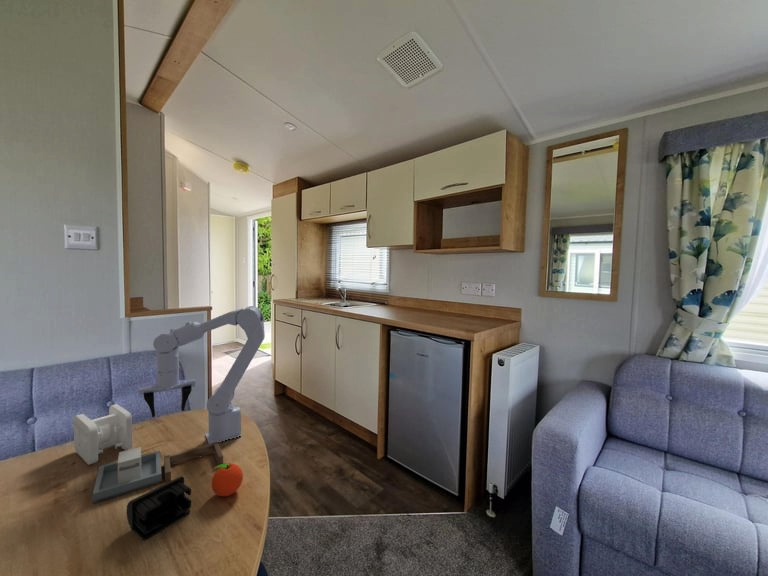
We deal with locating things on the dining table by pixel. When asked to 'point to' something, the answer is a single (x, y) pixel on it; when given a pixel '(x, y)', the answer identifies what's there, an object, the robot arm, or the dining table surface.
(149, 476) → the slate tray
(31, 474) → the dining table surface
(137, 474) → the box
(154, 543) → the dining table surface
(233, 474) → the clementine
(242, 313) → the robot arm
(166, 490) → the end cap
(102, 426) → the cable organizer
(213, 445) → the walnut bay
